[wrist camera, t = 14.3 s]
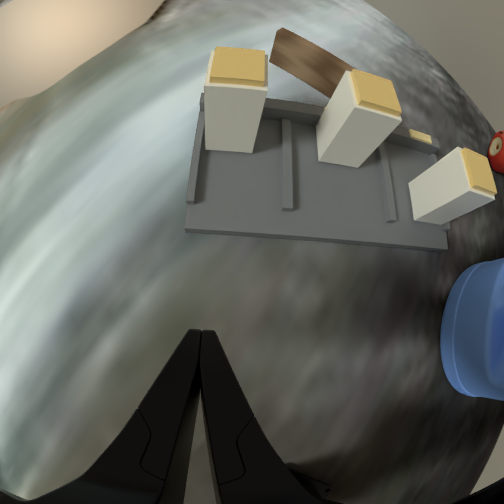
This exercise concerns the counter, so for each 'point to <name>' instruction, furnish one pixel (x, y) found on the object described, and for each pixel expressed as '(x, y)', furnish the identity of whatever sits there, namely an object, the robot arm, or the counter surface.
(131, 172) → the counter surface
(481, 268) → the water jug
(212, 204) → the button board
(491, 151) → the apple
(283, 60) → the plaque
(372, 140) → the button middle
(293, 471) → the robot arm
